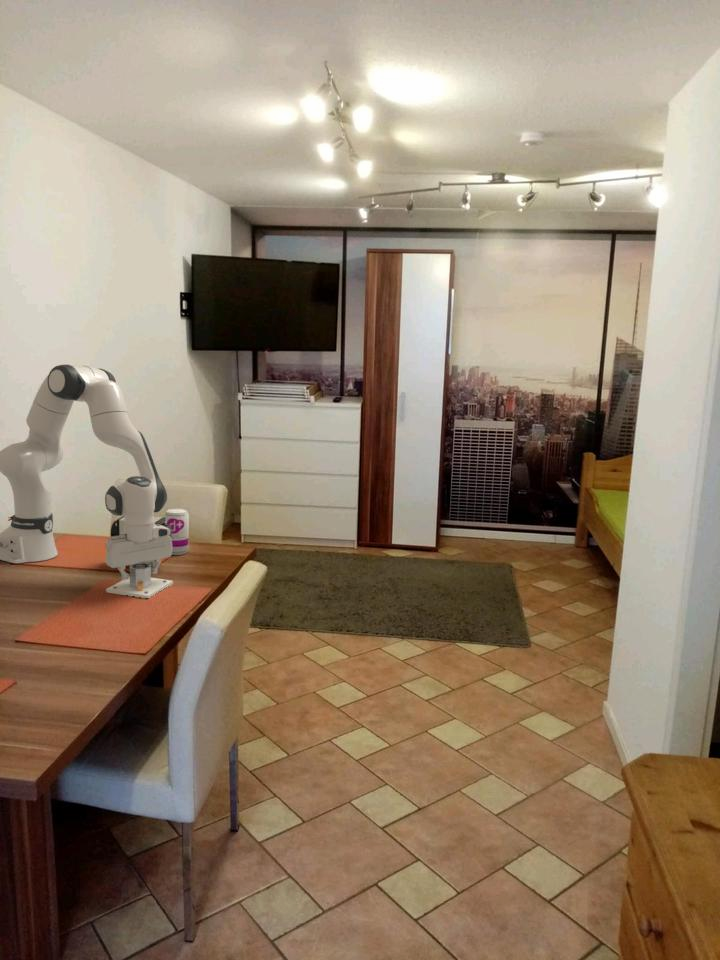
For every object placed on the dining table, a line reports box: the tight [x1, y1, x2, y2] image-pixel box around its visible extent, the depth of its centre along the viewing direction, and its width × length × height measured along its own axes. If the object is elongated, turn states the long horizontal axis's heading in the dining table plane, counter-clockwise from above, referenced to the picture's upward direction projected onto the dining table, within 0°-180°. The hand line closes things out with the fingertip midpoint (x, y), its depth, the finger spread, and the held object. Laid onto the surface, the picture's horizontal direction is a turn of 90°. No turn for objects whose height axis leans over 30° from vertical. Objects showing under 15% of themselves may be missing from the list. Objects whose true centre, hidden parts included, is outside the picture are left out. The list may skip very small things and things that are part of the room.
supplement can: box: [164, 508, 190, 556], centre depth 254 cm, size 8×8×15 cm
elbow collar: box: [129, 563, 152, 591], centre depth 218 cm, size 8×6×6 cm
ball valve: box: [110, 516, 172, 567], centre depth 239 cm, size 18×8×18 cm, turn 84°
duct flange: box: [105, 564, 174, 599], centre depth 219 cm, size 14×14×7 cm
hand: (139, 576), depth 219 cm, fingers open, 8 cm apart
